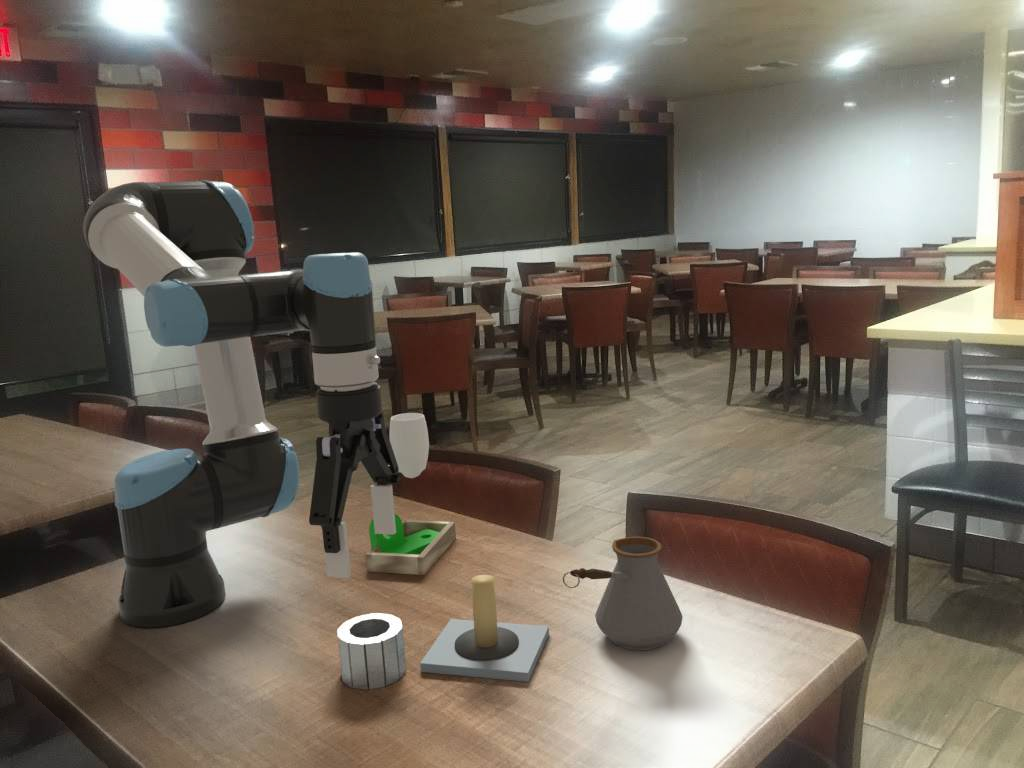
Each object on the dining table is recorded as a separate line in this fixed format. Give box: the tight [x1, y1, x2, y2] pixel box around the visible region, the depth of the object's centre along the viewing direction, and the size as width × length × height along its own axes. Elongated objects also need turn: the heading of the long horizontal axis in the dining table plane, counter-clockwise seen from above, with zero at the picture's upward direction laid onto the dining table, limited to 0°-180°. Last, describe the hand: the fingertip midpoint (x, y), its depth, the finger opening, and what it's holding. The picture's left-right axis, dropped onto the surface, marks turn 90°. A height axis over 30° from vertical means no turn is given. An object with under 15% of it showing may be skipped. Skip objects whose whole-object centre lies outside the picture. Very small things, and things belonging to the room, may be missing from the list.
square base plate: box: [419, 574, 550, 683], centre depth 109 cm, size 14×12×10 cm
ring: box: [336, 612, 407, 691], centre depth 106 cm, size 8×8×6 cm
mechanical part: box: [368, 513, 440, 555], centre depth 143 cm, size 12×6×8 cm, turn 134°
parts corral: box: [365, 519, 457, 576], centre depth 144 cm, size 10×16×3 cm, turn 165°
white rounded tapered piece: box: [388, 412, 430, 479], centre depth 157 cm, size 7×7×21 cm
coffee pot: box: [562, 536, 684, 651], centre depth 107 cm, size 21×12×15 cm, turn 142°
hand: (363, 553), depth 104 cm, fingers open, 13 cm apart
